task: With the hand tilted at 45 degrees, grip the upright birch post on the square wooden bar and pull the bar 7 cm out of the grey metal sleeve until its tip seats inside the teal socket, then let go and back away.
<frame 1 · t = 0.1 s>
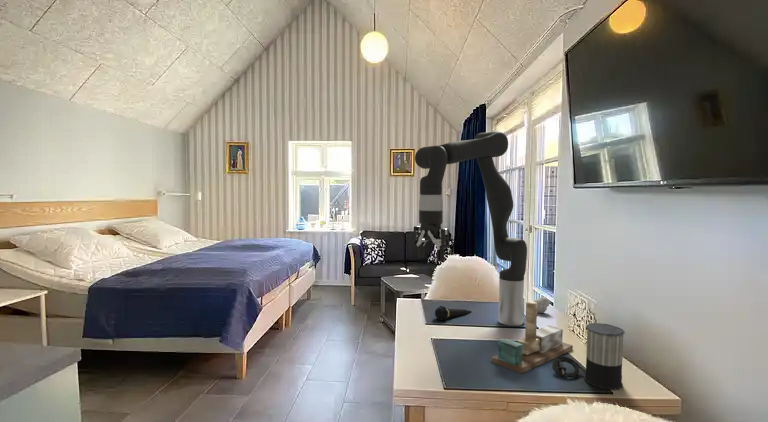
hand: (430, 259, 132), 29 cm above the table, tool pointing down, fingers open, 8 cm apart
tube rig: (533, 355, 129), on the table
frog figurine: (541, 313, 175), on the table
microphone: (455, 318, 169), on the table
milk frother: (586, 379, 114), on the table
wooden bar: (539, 323, 130), point 10 cm above the table, slide at 0.0 cm
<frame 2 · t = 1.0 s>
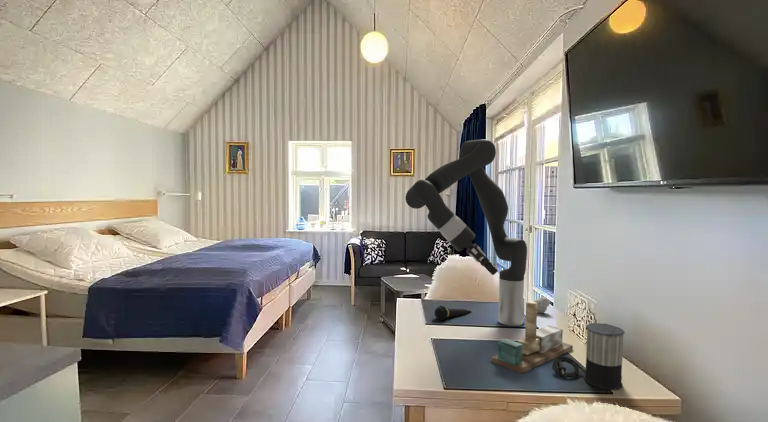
hand: (493, 270, 128), 27 cm above the table, tool tilted 45°, fingers open, 8 cm apart
nothing on the table moved.
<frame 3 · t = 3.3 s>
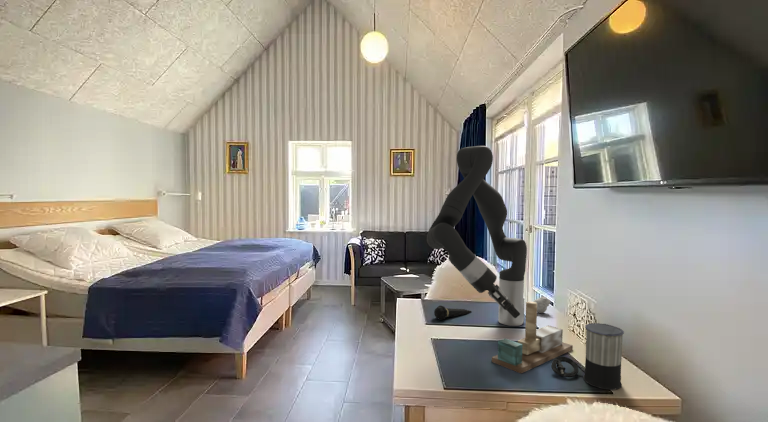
hand: (514, 312, 128), 14 cm above the table, tool tilted 45°, fingers open, 8 cm apart
nothing on the table moved.
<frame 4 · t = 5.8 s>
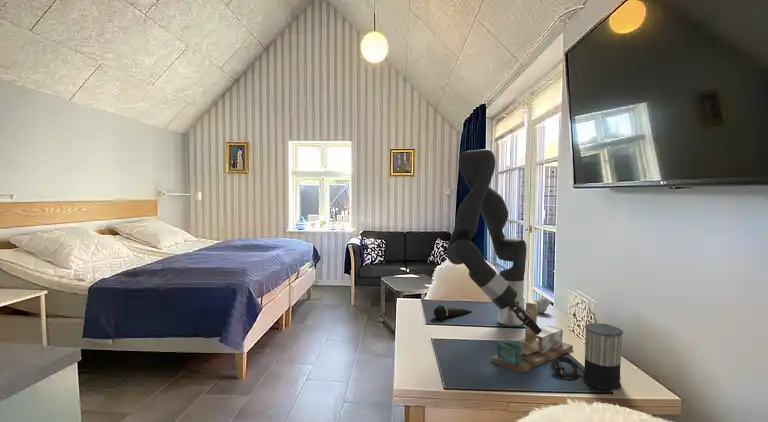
hand: (537, 330, 127), 8 cm above the table, tool tilted 45°, fingers closed on wooden bar, 3 cm apart
wooden bar: (539, 323, 130), point 10 cm above the table, slide at 0.0 cm, touching gripper
everything else where it was.
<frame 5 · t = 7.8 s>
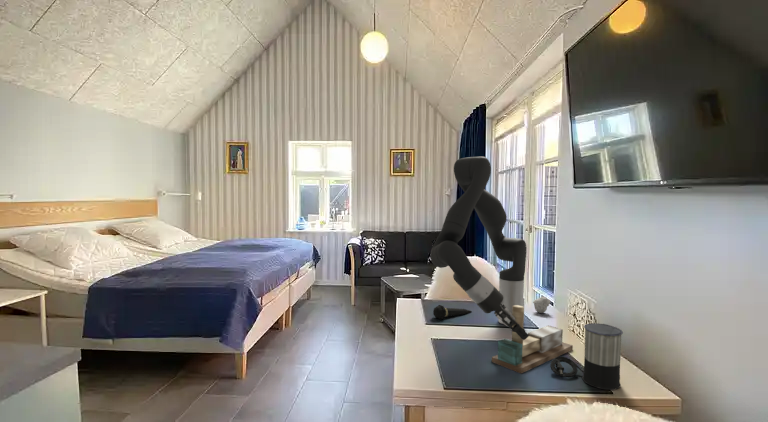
hand: (524, 335, 123), 8 cm above the table, tool tilted 45°, fingers closed on wooden bar, 3 cm apart
wooden bar: (526, 328, 126), point 10 cm above the table, slide at 7.1 cm, touching gripper
everything else where it was.
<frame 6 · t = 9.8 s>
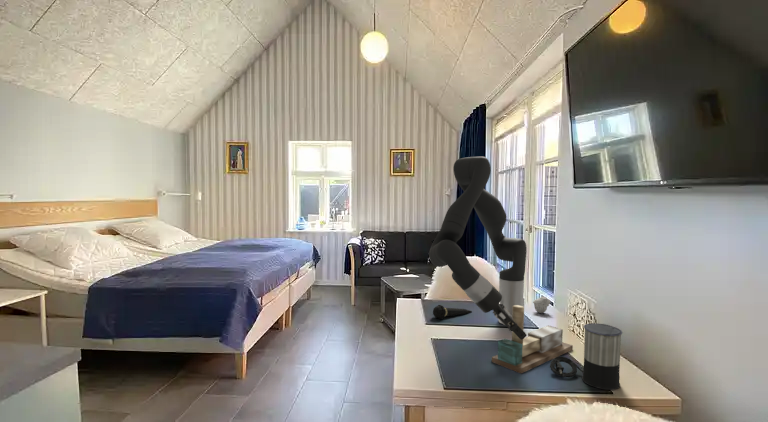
hand: (520, 332, 123), 9 cm above the table, tool tilted 45°, fingers open, 8 cm apart
wooden bar: (526, 328, 126), point 10 cm above the table, slide at 7.0 cm
everything else where it was.
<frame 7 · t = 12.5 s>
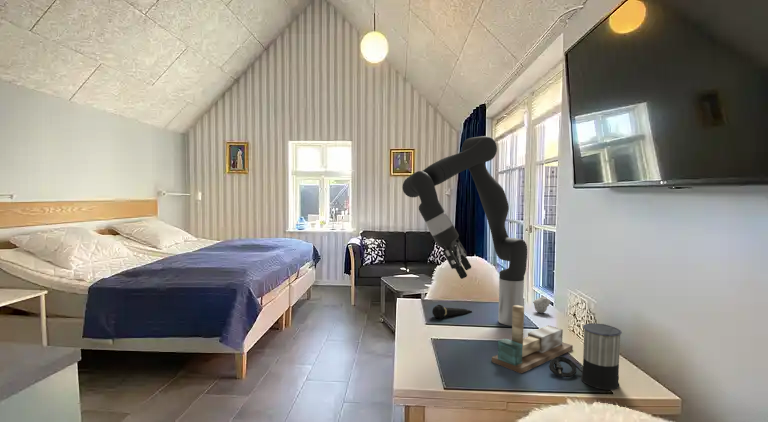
hand: (466, 273, 132), 25 cm above the table, tool tilted 30°, fingers open, 8 cm apart
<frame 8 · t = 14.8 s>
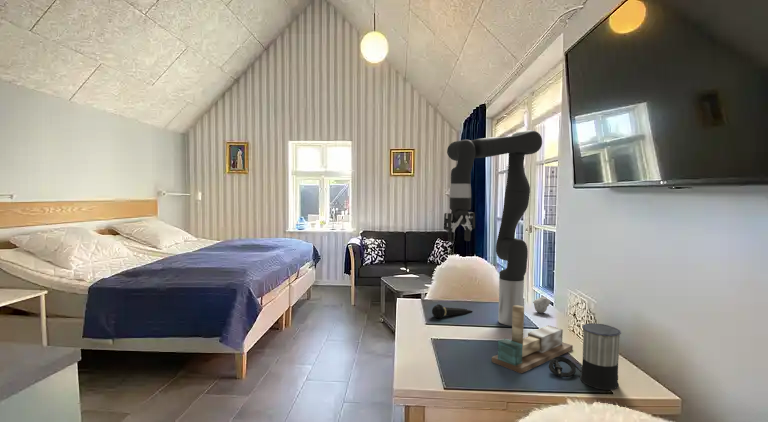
hand: (459, 241, 149), 33 cm above the table, tool pointing down, fingers open, 8 cm apart
at the end: wooden bar slide at 7.0 cm; the gripper is holding nothing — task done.
